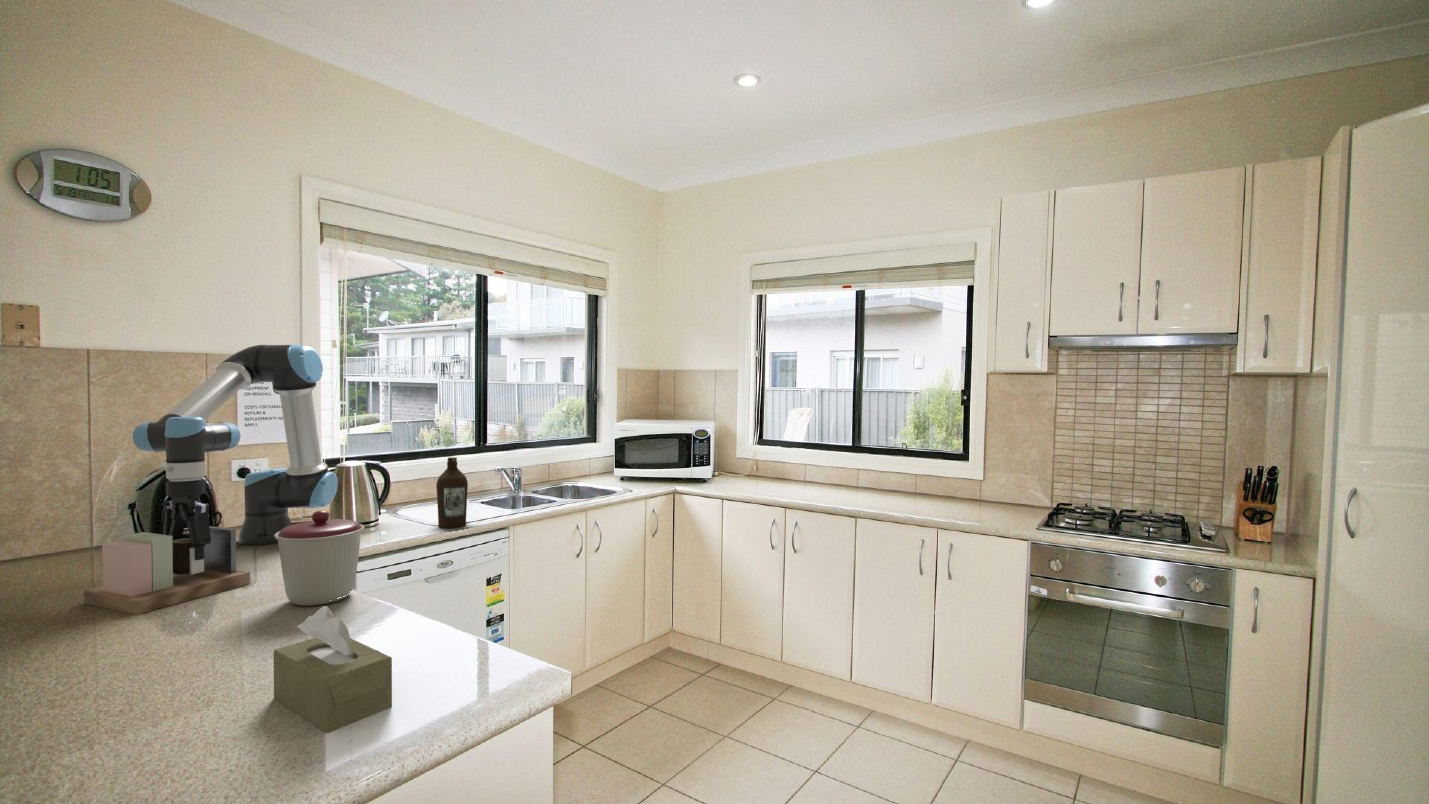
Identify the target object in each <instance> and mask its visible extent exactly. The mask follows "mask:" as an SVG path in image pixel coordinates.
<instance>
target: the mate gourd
mask: <svg viewBox="0 0 1429 804" xmlns="http://www.w3.org/2000/svg"><path fill="white" fill-rule="evenodd" d="M172 544H173V573H174V574H190V548H189V546H192V543H191V539H190V537H187V538H182V539H179V540H175V541H173V542H172ZM204 560H205V556H204Z"/></svg>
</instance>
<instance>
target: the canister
mask: <svg viewBox="0 0 1429 804" xmlns="http://www.w3.org/2000/svg"><path fill="white" fill-rule="evenodd" d="M329 518H330V513H329V512H328V511H326V510H317V511H315V512H313V513H312V515H311V519H312V520H308V521H307V520H306V521H302V522H298V523H294V524H292V525H290V526H287V527H285V528H283V529H282V530H281V531H279V532H277V533H276V534H275V535H274V537H275V538H276V539H278V542H277V543H278V551H279V552H278V553H279V559H280V566H281V572H282V573H281V574H282V580H283V585H284V590H285V595H286V597H287V599H288V600H289V602H291V604H293V605H297V606H302V607H305V606H306V607H311V606H321V605H323V606H324V605H326V604H327V605H328V604H331V603H335V602H338V601H341V600H343V599H346V598H347V597H348V596H349V595H350V594H351V593H350V591H352V592H353V590H354V588H355V585H356V578H357V571H358V564H359V556H360V555H359V554H360V546H361V545H360V544H361V538H362V535H361V534H362V531H364V529H365V526H364V525H363V524H362V523H359V522H357V521H355V520H353V519H352V520H351V519H343V518H330V519H329ZM349 593H350V594H349ZM347 594H348V595H347ZM345 595H346V596H345ZM343 596H345V597H343ZM339 597H342V598H339ZM337 598H339V599H337ZM330 600H331V601H330Z"/></svg>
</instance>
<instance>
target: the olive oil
mask: <svg viewBox="0 0 1429 804" xmlns="http://www.w3.org/2000/svg"><path fill="white" fill-rule="evenodd" d="M457 459H458V458H457V457H454V456H453V457H452V456H451V457H450V456H449V457H447V462H446V465H447V467H446V469H445V470H444V471H443V472H442V473H441V474H440V475H439V476H438V477H437V481H436V485H435V486H436V498H437V500H436V501H437V502H436V503H437V519H438V520H437V523H438V528H441V529H455V528H456V529H458V528H462V527H465V526H466V525H467V508H468V507H467V506H468V486H469V483H468V478H467V476H466V475H465V474H464V473H463V472H462V471H461V470H460V469H459V468H458V460H457Z"/></svg>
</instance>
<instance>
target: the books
mask: <svg viewBox="0 0 1429 804" xmlns="http://www.w3.org/2000/svg"><path fill="white" fill-rule="evenodd" d="M101 556H102V586H103V591H106V592H111V593H116V594H121V595H126V596H131V597H133V596H137V595H141V594H145V593H149V592H152V591H157V590H161V589H165V588H169V587H173V544H172V536H169V534H168V535H163V533H162V534H161V533H154V532H145V531H142V532H136V533H131V534H124V535H123V539H120V540H119V539H118V540H114V541H109V542H103V543H102V555H101Z"/></svg>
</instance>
